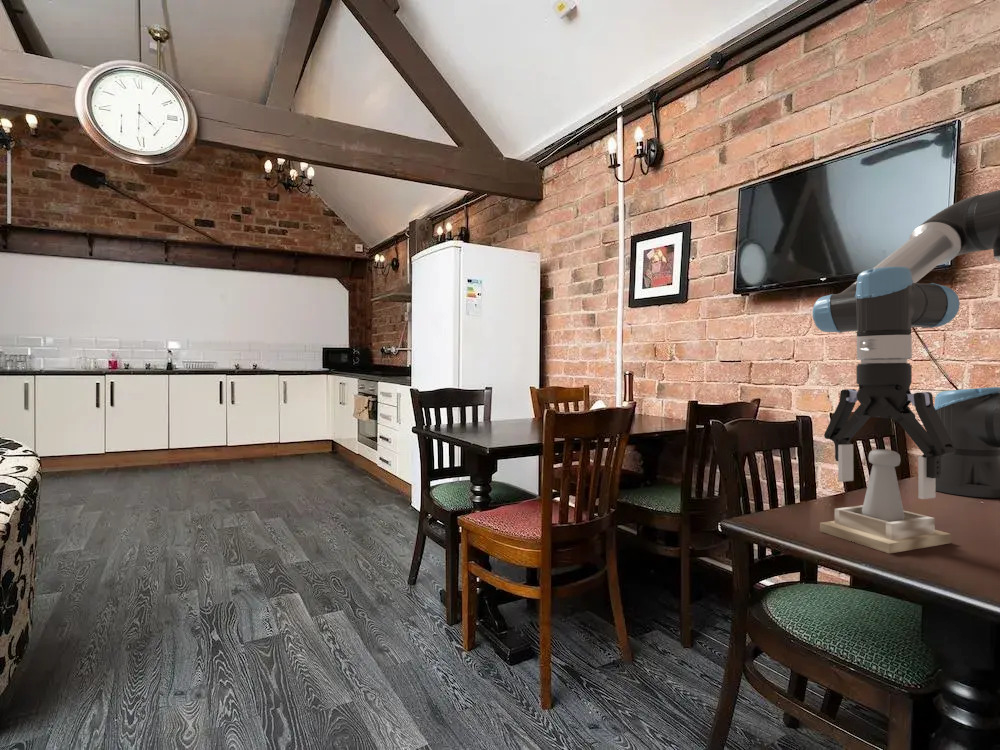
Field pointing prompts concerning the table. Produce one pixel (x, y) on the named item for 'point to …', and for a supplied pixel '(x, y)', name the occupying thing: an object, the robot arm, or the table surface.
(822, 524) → the tray
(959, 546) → the table surface
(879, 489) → the salt shaker
